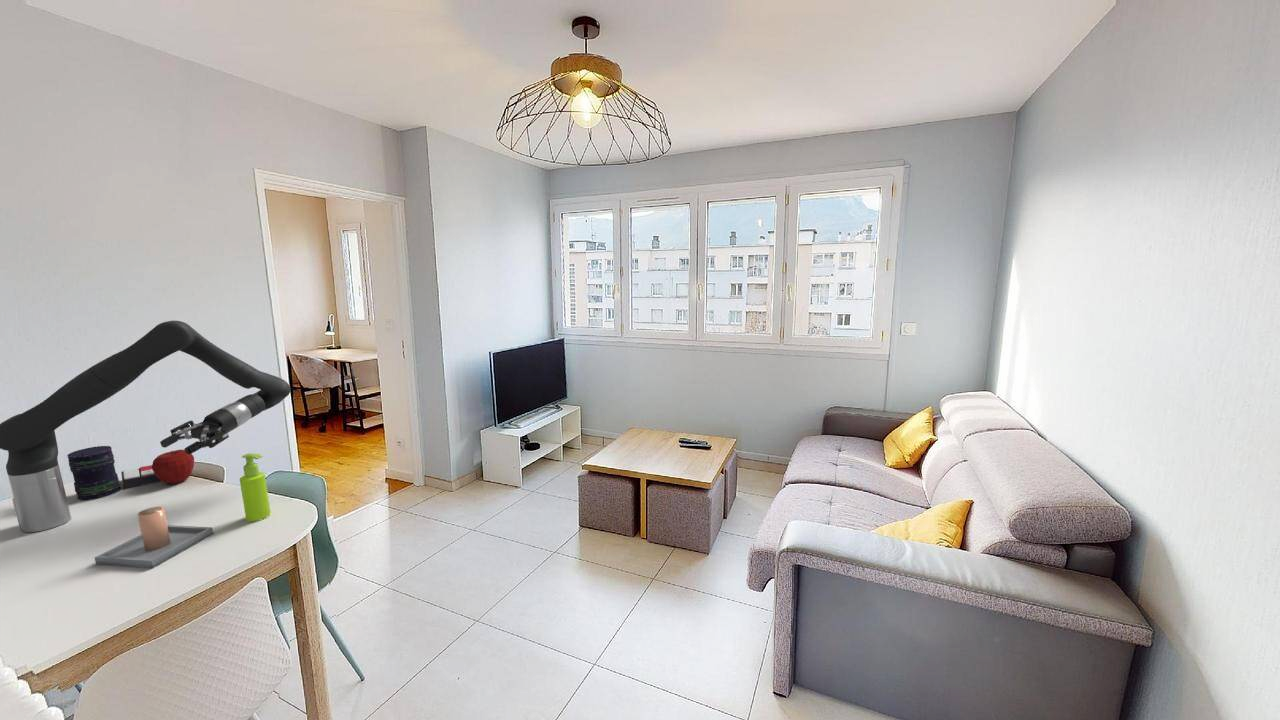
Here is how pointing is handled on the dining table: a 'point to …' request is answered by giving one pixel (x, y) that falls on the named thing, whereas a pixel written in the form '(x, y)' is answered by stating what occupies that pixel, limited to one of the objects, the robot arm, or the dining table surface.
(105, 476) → the storage jar
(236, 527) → the dining table surface
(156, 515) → the cup
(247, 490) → the soap dispenser
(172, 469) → the apple
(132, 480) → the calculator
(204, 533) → the tray
